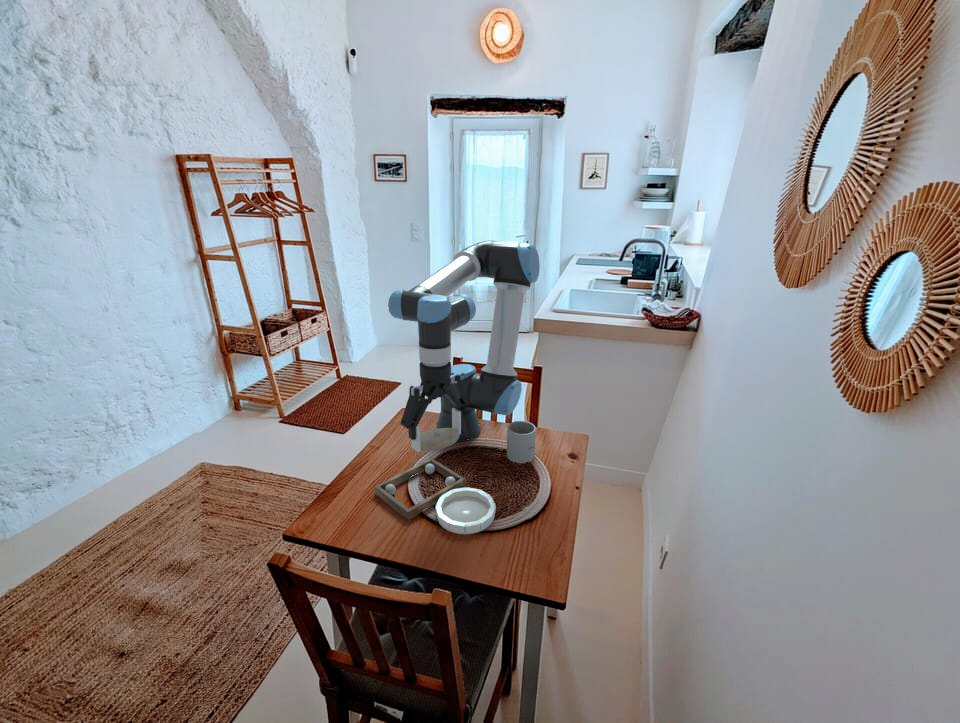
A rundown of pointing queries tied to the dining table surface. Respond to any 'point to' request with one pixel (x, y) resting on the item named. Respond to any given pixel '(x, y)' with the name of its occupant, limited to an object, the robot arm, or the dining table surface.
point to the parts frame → (424, 504)
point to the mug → (521, 441)
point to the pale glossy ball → (429, 468)
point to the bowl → (465, 510)
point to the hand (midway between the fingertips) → (437, 440)
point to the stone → (438, 438)
